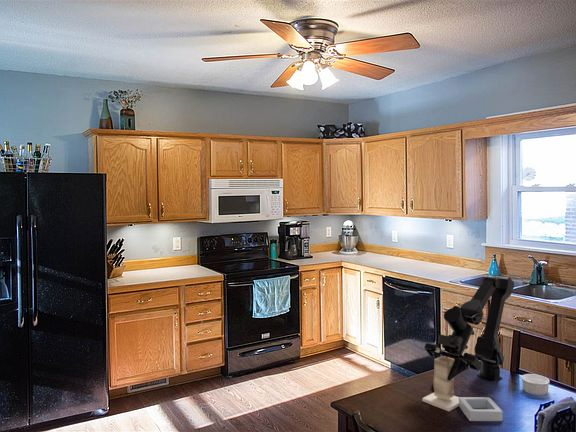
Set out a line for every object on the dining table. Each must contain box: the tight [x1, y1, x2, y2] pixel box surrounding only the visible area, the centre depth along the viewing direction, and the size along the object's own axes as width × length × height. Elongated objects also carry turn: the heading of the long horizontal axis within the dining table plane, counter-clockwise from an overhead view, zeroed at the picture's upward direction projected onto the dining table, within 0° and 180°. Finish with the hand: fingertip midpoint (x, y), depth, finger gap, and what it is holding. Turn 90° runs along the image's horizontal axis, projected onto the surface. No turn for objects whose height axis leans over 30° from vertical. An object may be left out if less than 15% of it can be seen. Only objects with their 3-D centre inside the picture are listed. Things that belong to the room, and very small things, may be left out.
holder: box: [458, 396, 504, 422], centre depth 147 cm, size 10×10×3 cm
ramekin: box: [520, 373, 550, 396], centre depth 164 cm, size 9×9×4 cm
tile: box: [421, 392, 460, 412], centre depth 156 cm, size 10×10×1 cm
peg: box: [433, 356, 455, 400], centre depth 155 cm, size 4×4×12 cm
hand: (441, 377), depth 154 cm, fingers closed on peg, 4 cm apart
